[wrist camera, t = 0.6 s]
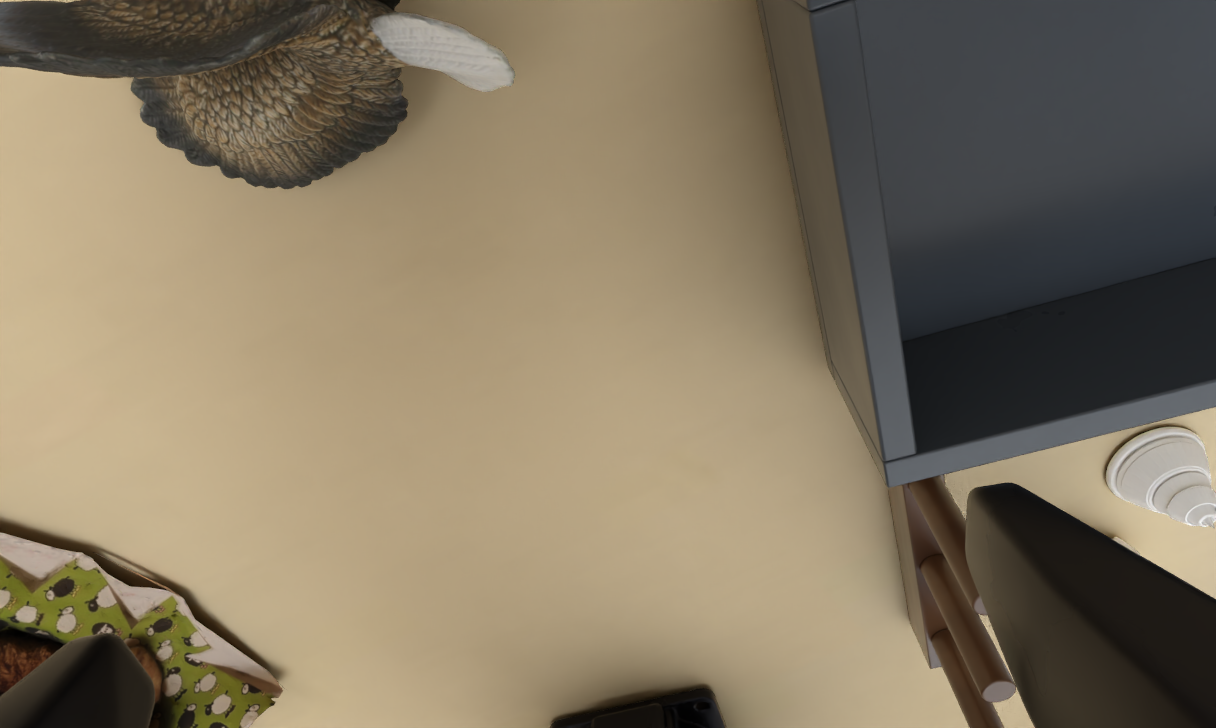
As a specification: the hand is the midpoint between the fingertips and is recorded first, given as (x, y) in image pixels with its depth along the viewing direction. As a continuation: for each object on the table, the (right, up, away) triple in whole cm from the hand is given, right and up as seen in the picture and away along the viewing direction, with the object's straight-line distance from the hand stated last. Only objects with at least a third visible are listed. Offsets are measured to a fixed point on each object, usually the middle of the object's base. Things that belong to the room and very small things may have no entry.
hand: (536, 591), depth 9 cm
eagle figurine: (-6, +10, +10) cm, 15 cm away
